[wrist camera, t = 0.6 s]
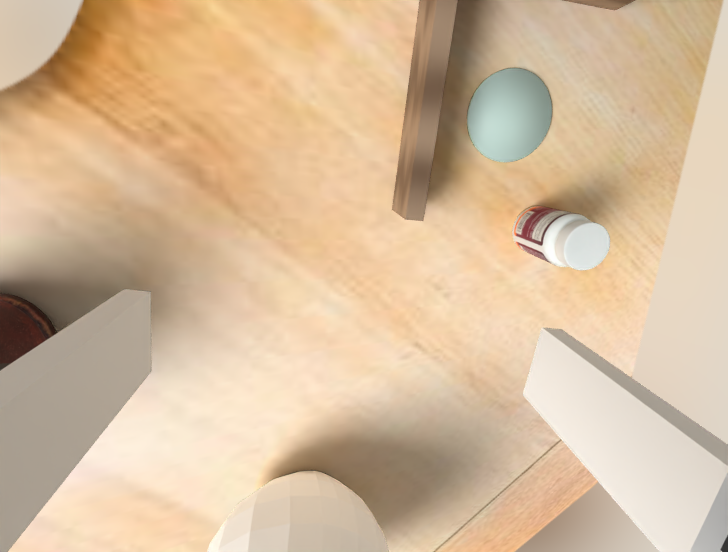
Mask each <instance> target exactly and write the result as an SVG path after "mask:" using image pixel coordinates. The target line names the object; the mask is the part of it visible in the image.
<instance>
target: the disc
mask: <svg viewBox="0 0 728 552" xmlns="http://www.w3.org/2000/svg"><path fill="white" fill-rule="evenodd" d="M551 117H552V104H551V98H550V95H549V92H548V90H547V88H546V86H545V85H544V83H543V82H542V81H541V79H540V78H539V77H537V76H536V75H535V74H533V73H532V72H530V71H527V70H524V69H520V68H509V69H504V70H501V71H499V72H496V73H494V74H493V75H491V76H489V77H488V78H487V79H486V80H484V81H483V82H482V83H481V85H480V86H479V87H478V88H477V90H476V91H475V93H474V95H473V97H472V99H471V101H470V104H469V108H468V113H467V128H468V133H469V136H470V139H471V141H472V143H473V145H474V146H475V147H476V149H477V150H478V151H479V152H480V153H481V154H482V155H484V156H485V157H487V158H489V159H491V160H494V161H498V162H512V161H517V160H519V159H522V158H524V157H526V156H527V155H529V154H530V153H532V152H533V151H534V150H535V149H536V148H537V147H538V146H539V145H540V143H541V142H542V141H543V139H544V137H545V136H546V134H547V131H548V129H549V126H550V122H551Z"/></svg>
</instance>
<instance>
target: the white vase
mask: <svg viewBox="0 0 728 552" xmlns="http://www.w3.org/2000/svg"><path fill="white" fill-rule="evenodd" d="M207 552H389V550H388V546H387V543H386V539H385V536H384V533H383V532H382V530H381V528H380V526H379V524H378V523H377V521H376V519H375V517H374V516H373V514H372V512H371V511H370V509H369V508H368V507H367V505H366V504H365V503H364V501H363V500H362V499H361V498H360V497H359V496H358V495H357V494H355V493H354V492H353V491H352V490H351V489H349V488H348V487H347V486H345V485H344V484H342V483H341V482H340V481H338V480H336V479H334V478H333V477H331V476H329V475H327V474H324V473H322V472H318V471H299V472H296V473H292V474H289V475H285V476H282V477H279V478H276V479H273V480H271V481H270V482H268V483H267V484H265V485H264V486H262V487H261V488H259V489H258V490H256V491H255V492H253V493H252V494H251V495H249V496H248V497H246V498H245V499H243V500H242V501H240V502H239V503H238V504H237V505H236V507H235V508H234V509H233V511H232V512H231V513H230V515H229V516H228V518H227V519H226V520H225V522H224V523H223V525H222V526H221V528H220V529H219V531H218V532H217V534H216V535H215V537H214V538H213V540H212V541H211V543H210V545H209V548H208V551H207Z"/></svg>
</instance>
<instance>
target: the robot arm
mask: <svg viewBox="0 0 728 552" xmlns="http://www.w3.org/2000/svg"><path fill="white" fill-rule="evenodd" d="M150 372H151V292H150V291H139V290H128V289H123V290H122V291H120V292H119V293H117V294H116V295H114V296H113V297H111V298H110V299H108V300H107V301H105V302H104V303H102V304H101V305H99V306H98V307H96V308H95V309H93V310H92V311H90V312H89V313H87V314H85V315H84V316H82V317H81V318H79V319H78V320H76V321H75V322H73V323H72V324H70V325H69V326H67V327H66V328H64V329H63V330H61V331H60V332H58V333H57V334H55V335H54V336H52V337H51V338H49V339H48V340H46V341H44V342H43V343H41V344H40V345H38V346H37V347H35V348H34V349H32V350H31V351H29V352H28V353H26V354H25V355H23V356H22V357H20V358H19V359H17V360H16V361H14V362H13V363H11V364H10V363H2V364H0V552H8V551H9V549H10V548H11V547H12V546H13V544H14V543H15V542H16V541H17V539H18V538H19V537H20V536H21V534H22V533H23V532H24V531H25V529H26V528H27V527H28V525H29V524H30V523H31V522H32V520H33V519H34V518H35V517H36V515H37V514H38V513H39V512H40V510H41V509H42V508H43V507H44V505H45V504H46V503H47V502H48V500H49V499H50V498H51V497H52V495H53V494H54V493H55V492H56V490H57V489H58V488H59V487H60V485H61V484H62V483H63V482H64V480H65V479H66V478H67V476H68V475H69V474H70V473H71V471H72V470H73V469H74V468H75V466H76V465H77V464H78V463H79V461H80V460H81V459H82V458H83V456H84V455H85V454H86V453H87V451H88V450H89V449H90V448H91V446H92V445H93V444H94V443H95V441H96V440H97V439H98V438H99V436H100V435H101V434H102V433H103V431H104V430H105V429H106V427H107V426H108V425H109V424H110V422H111V421H112V420H113V419H114V417H115V416H116V415H117V414H118V412H119V411H120V410H121V409H122V407H123V406H124V405H125V404H126V402H127V401H128V400H129V399H130V397H131V396H132V395H133V394H134V392H135V391H136V390H137V389H138V387H139V386H140V385H141V384H142V382H143V381H144V380H145V379H146V377H147V376H148V375H149V373H150ZM523 396H524V397H525V398H526V399H527V400H528V402H529V403H530V404H531V405H532V406H533V407H534V408H535V410H536V411H537V412H538V413H539V414H540V415H541V416H542V418H543V419H544V420H545V421H546V422H547V423H548V424H549V426H550V427H551V428H552V429H553V430H554V431H555V432H556V434H557V435H558V436H559V437H560V438H561V439H562V440H563V442H564V443H565V444H566V445H567V446H568V447H569V448H570V450H571V451H572V452H573V453H574V454H575V455H576V457H577V458H578V459H579V460H580V461H581V462H582V463H583V465H584V466H585V467H586V468H587V469H588V470H589V471H590V473H591V474H592V475H593V476H594V477H595V478H596V479H597V481H598V482H599V483H600V484H601V485H602V486H603V487H604V488H605V490H606V491H607V492H608V493H609V494H610V495H611V497H612V498H613V499H614V500H615V501H616V502H617V504H618V505H619V506H620V507H621V508H622V509H623V510H624V512H625V513H626V514H627V515H628V516H629V517H630V518H631V519H632V521H633V522H634V523H635V524H636V525H637V526H638V528H639V529H640V530H641V531H642V532H643V533H644V534H645V536H646V537H647V538H648V539H649V540H650V541H651V542H652V543H653V545H654V546H655V547H656V548H657V549H658V551H659V552H721V551H722V552H728V444H726V443H724V442H723V441H722V440H720V439H719V438H717V437H716V436H715V435H713V434H712V433H710V432H709V431H707V430H706V429H704V428H703V427H702V426H700V425H699V424H697V423H696V422H694V421H693V420H691V419H690V418H689V417H687V416H686V415H684V414H683V413H681V412H680V411H679V410H677V409H675V408H674V407H673V406H671V405H670V404H668V403H667V402H666V401H664V400H663V399H661V398H660V397H658V396H657V395H655V394H654V393H652V392H651V391H650V390H648V389H647V388H645V387H644V386H642V385H641V384H640V383H638V382H637V381H635V380H634V379H632V378H631V377H629V376H628V375H627V374H625V373H624V372H622V371H621V370H619V369H618V368H616V367H615V366H614V365H612V364H611V363H609V362H608V361H606V360H605V359H604V358H602V357H601V356H599V355H598V354H596V353H595V352H593V351H592V350H591V349H589V348H588V347H586V346H585V345H583V344H582V343H580V342H579V341H578V340H576V339H575V338H573V337H572V336H570V335H569V334H567V333H566V332H565V331H563V330H562V329H552V328H542V329H541V333H540V336H539V340H538V343H537V347H536V350H535V354H534V357H533V361H532V364H531V368H530V371H529V375H528V378H527V382H526V385H525V389H524V392H523Z"/></svg>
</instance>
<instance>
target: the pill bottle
mask: <svg viewBox="0 0 728 552" xmlns="http://www.w3.org/2000/svg"><path fill="white" fill-rule="evenodd" d="M512 235H513V240H514V242H515V244H516V245H517V246H518V247H519V248H520V249H521V250H523V251H525V252H527V253H530V254H532V255H534V256H536V257H538V258H541V259H543V260H545V261H547V262H549V263H552V264H554V265H556V266H560V267H571V268H573V269H576V270H588V269H591V268H594V267H595V266H597V265H598V264H600V263H601V262H602V261H603V259H604V258H605V257H606V255H607V253H608V251H609V247H610V237H609V234H608V232H607V230H606V229H605V228H604V227H603V226H602V225H600V224H598V223H595V222H591V221H590V220H589V219H587V218H586V217H584V216H583V215H580V214H576V213H571V212H566V211H561V210H557V209H552V208H547V207H542V206H535V207H530V208H528V209H526V210H524V211H523V212H522V213H521V214H520V215H519V216H518V217H517V218H516V220H515V222H514V225H513V229H512Z"/></svg>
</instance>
